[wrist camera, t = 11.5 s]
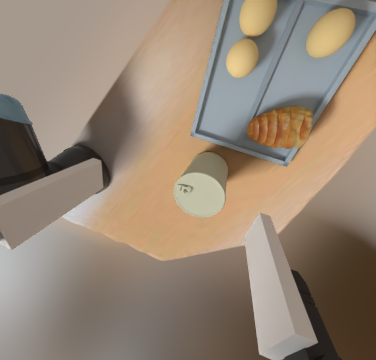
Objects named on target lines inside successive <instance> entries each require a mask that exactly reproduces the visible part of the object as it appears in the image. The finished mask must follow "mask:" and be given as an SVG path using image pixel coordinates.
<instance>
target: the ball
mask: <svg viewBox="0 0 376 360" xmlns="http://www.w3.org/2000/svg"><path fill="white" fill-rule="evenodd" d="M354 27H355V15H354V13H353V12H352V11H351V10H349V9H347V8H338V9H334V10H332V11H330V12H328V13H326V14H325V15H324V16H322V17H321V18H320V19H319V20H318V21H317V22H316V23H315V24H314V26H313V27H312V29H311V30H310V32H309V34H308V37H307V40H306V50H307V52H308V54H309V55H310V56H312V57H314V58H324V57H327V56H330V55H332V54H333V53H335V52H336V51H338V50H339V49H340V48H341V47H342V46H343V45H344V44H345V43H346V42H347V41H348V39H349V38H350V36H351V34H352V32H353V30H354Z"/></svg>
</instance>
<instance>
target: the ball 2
mask: <svg viewBox="0 0 376 360" xmlns="http://www.w3.org/2000/svg"><path fill="white" fill-rule="evenodd" d="M258 55H259V53H258V48H257V45H256V44H255V43H254V42H253V41H252V40H250V39H242V40H239V41H237V42H236V43H235V44H234V45H233V46H232V47H231V49H230V50H229V52H228V55H227V59H226V66H227V70H228V72H229V73H230V74H231V75H232V76H233V77H235V78H242V77H245V76H247V75H248V74H250V73H251V72H252V71H253V69H254V68H255V66H256V64H257V61H258Z"/></svg>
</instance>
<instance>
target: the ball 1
mask: <svg viewBox="0 0 376 360" xmlns="http://www.w3.org/2000/svg"><path fill="white" fill-rule="evenodd" d="M276 10H277V0H245V1H244V3H243V5H242V8H241V11H240V16H239V23H240V28H241V30H242V32H243V33H244V34H245V35H246V36H248V37H257V36H259V35H261V34H263V33H264V32H265V31H266V30H267V29H268V28H269V26H270V25H271V23H272V21H273V19H274V17H275V14H276Z"/></svg>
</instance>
